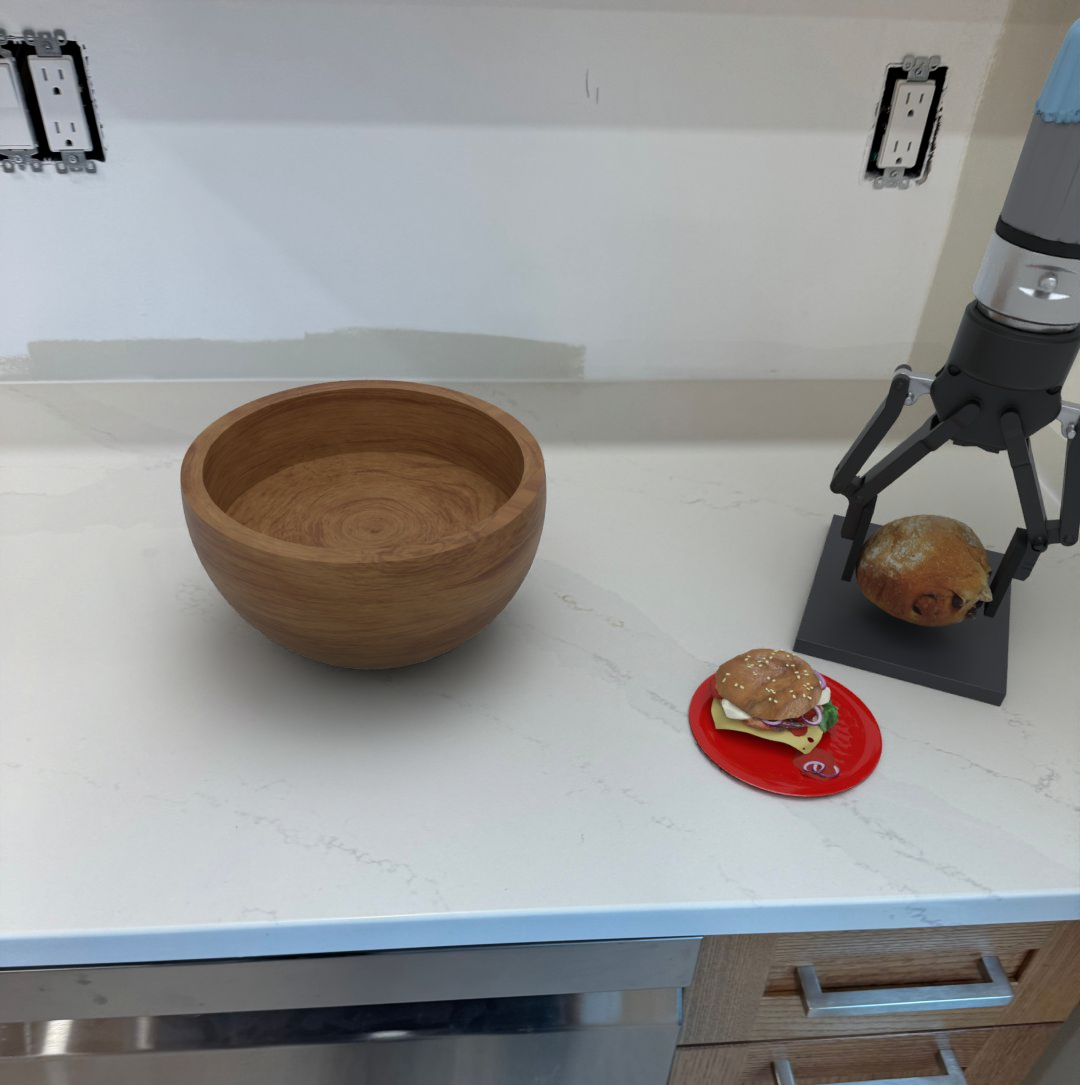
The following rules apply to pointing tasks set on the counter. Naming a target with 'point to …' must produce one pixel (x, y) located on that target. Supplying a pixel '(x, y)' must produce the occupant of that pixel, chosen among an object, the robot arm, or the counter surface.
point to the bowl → (366, 517)
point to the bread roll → (925, 570)
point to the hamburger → (784, 725)
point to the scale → (902, 633)
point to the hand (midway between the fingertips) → (917, 589)
